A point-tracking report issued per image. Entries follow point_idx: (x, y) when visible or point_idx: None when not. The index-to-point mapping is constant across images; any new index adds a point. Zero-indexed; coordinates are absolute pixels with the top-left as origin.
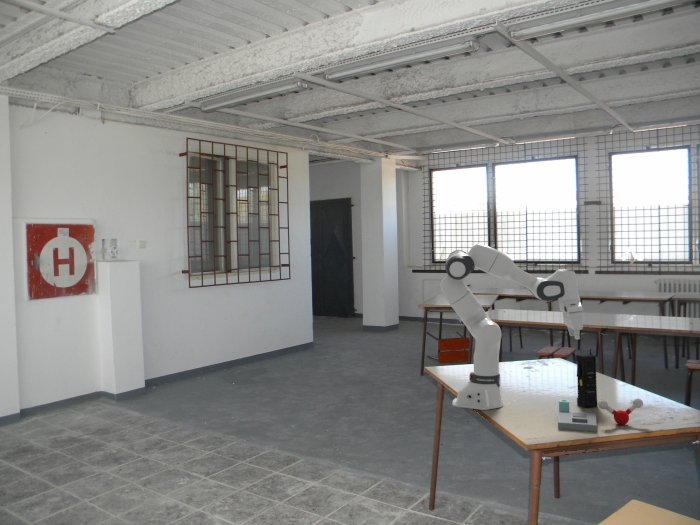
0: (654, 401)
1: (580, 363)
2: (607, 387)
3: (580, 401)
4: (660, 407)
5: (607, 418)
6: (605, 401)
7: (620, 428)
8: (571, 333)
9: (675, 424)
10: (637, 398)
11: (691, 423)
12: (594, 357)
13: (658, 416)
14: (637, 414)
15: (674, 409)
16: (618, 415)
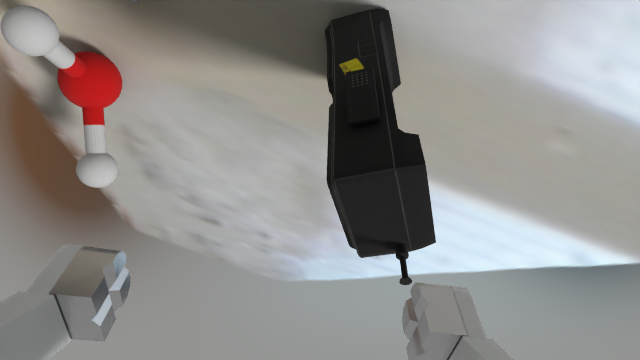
0: None
1: (356, 135)
2: (583, 214)
3: (356, 21)
4: (312, 239)
5: (177, 51)
6: (12, 47)
7: None
8: (419, 326)
9: (144, 204)
10: (92, 181)
11: (162, 235)
12: (348, 239)
13: (220, 201)
14: (238, 162)
15: (290, 255)
16: (60, 69)
